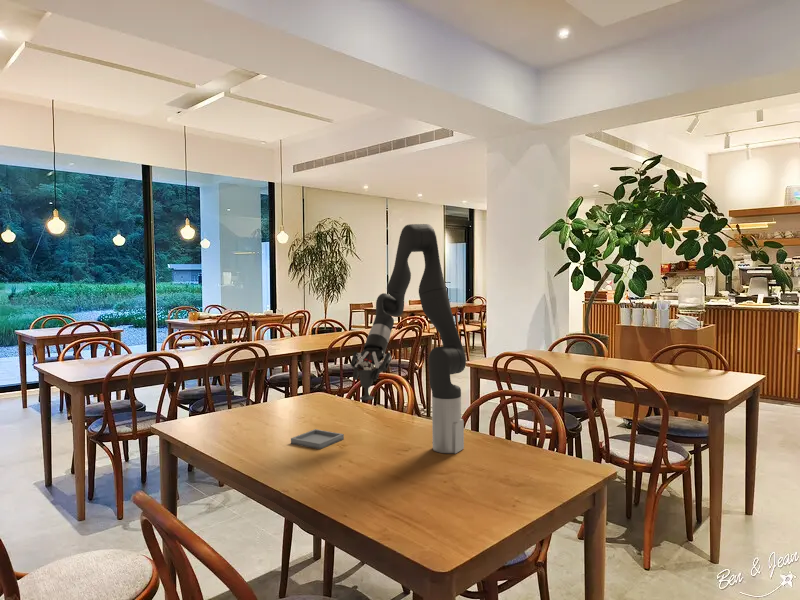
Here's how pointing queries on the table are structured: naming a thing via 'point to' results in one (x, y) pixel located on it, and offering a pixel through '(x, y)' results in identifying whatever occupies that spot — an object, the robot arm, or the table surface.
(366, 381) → the sundae
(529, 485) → the table surface
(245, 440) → the table surface
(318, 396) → the table surface
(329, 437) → the tray
